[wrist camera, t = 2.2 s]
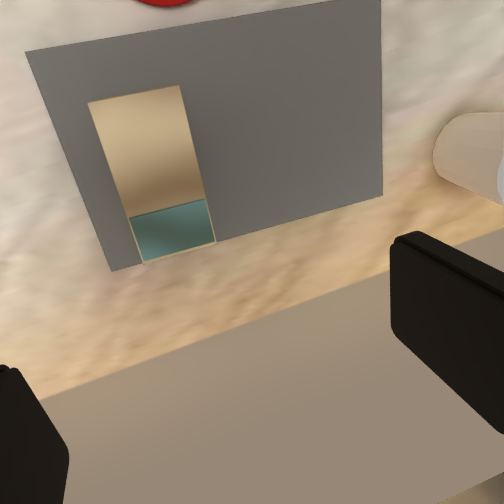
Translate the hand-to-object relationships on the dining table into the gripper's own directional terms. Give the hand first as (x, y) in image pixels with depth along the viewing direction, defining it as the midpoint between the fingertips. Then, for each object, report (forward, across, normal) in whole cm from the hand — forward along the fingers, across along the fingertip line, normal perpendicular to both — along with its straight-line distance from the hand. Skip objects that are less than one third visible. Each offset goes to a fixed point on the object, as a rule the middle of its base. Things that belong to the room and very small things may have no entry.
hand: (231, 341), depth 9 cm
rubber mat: (+19, -6, -2) cm, 20 cm away
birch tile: (+18, 0, -1) cm, 18 cm away
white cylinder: (+19, -24, +4) cm, 31 cm away
